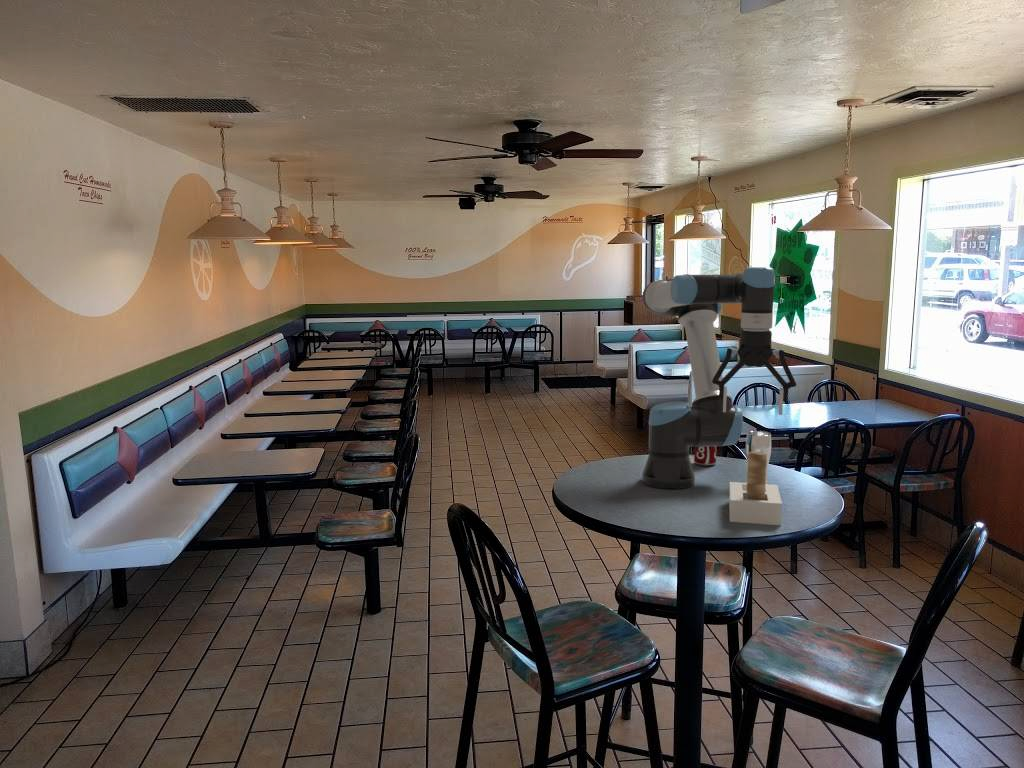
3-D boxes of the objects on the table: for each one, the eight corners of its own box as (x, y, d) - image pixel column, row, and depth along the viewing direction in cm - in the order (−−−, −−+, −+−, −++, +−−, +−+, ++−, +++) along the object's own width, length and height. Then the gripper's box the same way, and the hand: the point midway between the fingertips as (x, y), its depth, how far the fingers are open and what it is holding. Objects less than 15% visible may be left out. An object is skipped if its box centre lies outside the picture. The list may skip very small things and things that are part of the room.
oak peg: (745, 513, 187) (748, 455, 185) (745, 508, 191) (748, 450, 189) (764, 515, 186) (767, 456, 184) (763, 510, 190) (766, 452, 188)
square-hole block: (729, 521, 186) (730, 500, 186) (729, 501, 202) (729, 481, 202) (781, 525, 183) (782, 503, 182) (776, 505, 199) (777, 484, 198)
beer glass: (764, 480, 222) (766, 430, 220) (773, 487, 216) (775, 435, 213) (741, 480, 222) (742, 431, 220) (749, 487, 215) (751, 436, 213)
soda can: (692, 461, 245) (693, 425, 244) (713, 461, 245) (714, 425, 243) (696, 466, 239) (697, 429, 237) (718, 466, 239) (719, 429, 237)
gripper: (704, 330, 189) (701, 412, 193) (810, 332, 182) (805, 418, 186) (705, 327, 196) (702, 407, 200) (807, 329, 189) (802, 411, 193)
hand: (752, 412), depth 193 cm, fingers open, 13 cm apart
